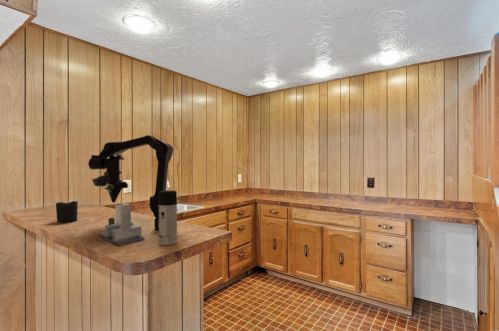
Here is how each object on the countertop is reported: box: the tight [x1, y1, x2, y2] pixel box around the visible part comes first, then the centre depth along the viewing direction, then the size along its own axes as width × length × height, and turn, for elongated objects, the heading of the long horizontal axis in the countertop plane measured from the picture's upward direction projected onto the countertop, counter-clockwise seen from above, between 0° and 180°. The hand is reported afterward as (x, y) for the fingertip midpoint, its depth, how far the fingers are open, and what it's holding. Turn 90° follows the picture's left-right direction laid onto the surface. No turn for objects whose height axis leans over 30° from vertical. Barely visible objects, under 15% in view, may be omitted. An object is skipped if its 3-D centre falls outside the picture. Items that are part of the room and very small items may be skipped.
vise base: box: [97, 224, 145, 247], centre depth 110 cm, size 22×10×5 cm, turn 47°
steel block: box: [115, 202, 132, 229], centre depth 108 cm, size 4×5×13 cm
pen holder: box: [55, 200, 79, 224], centre depth 140 cm, size 9×9×10 cm
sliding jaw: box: [104, 217, 134, 237], centre depth 114 cm, size 11×10×5 cm
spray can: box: [158, 190, 178, 247], centre depth 102 cm, size 7×7×20 cm
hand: (113, 202), depth 126 cm, fingers closed
